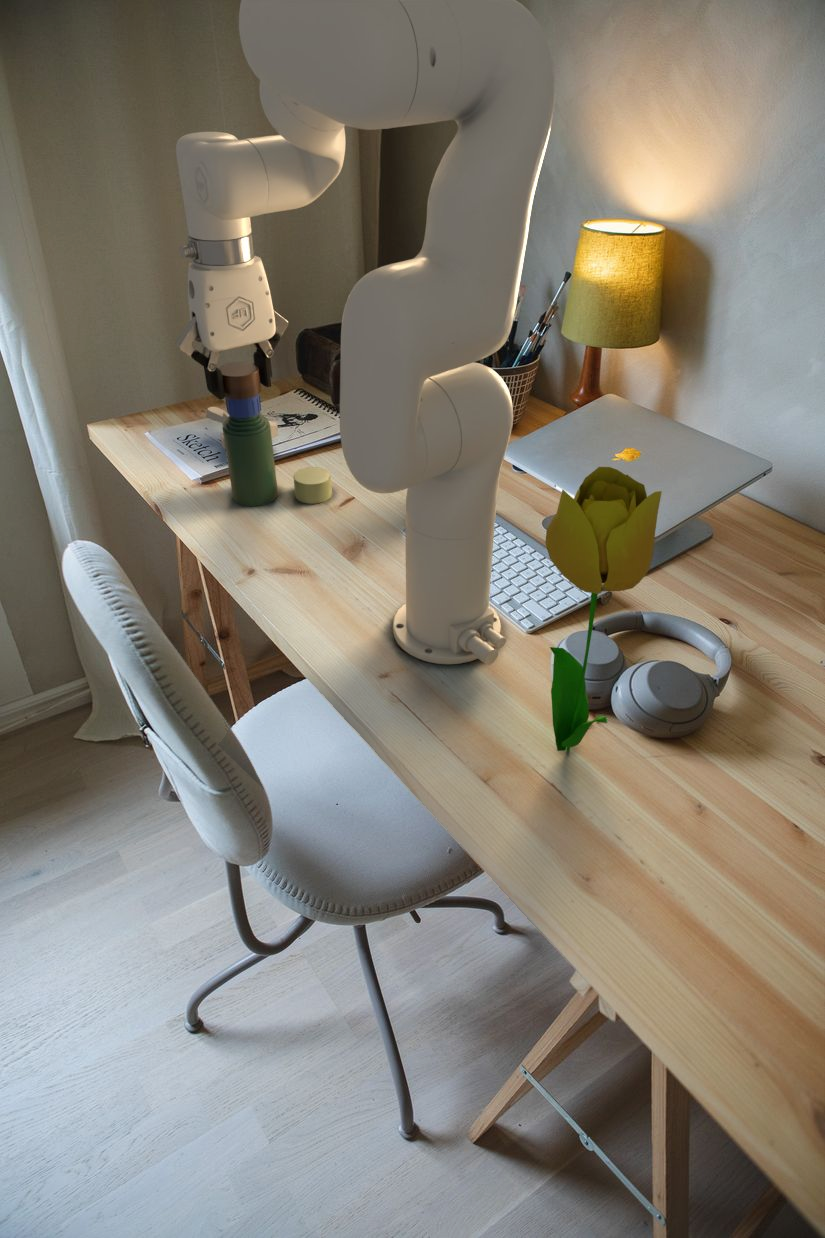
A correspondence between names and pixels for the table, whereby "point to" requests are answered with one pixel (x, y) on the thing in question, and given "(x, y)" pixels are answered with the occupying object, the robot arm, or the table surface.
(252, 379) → the brown wooden puck
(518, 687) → the table surface
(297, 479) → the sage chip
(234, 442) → the bottle
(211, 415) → the bunny figurine
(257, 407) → the cap
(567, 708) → the flower
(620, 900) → the table surface
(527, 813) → the table surface
